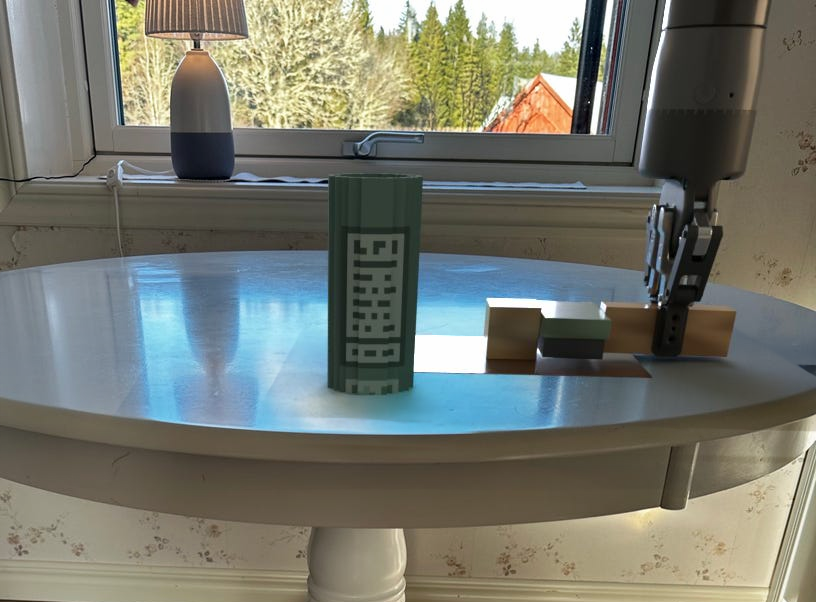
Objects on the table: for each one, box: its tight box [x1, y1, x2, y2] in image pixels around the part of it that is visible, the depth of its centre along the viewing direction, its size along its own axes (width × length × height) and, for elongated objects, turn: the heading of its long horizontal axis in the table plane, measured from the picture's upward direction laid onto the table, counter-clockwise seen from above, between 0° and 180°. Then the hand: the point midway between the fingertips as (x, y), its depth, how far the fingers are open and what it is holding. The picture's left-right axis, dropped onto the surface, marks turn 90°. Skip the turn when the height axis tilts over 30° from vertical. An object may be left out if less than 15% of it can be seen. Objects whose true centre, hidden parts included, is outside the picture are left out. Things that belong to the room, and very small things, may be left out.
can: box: [326, 172, 424, 396], centre depth 66 cm, size 6×6×15 cm
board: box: [414, 334, 654, 379], centre depth 78 cm, size 20×14×2 cm
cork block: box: [483, 297, 542, 360], centre depth 77 cm, size 4×4×4 cm
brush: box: [536, 299, 738, 360], centre depth 76 cm, size 15×8×4 cm, turn 86°
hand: (661, 350), depth 77 cm, fingers closed on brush, 2 cm apart
